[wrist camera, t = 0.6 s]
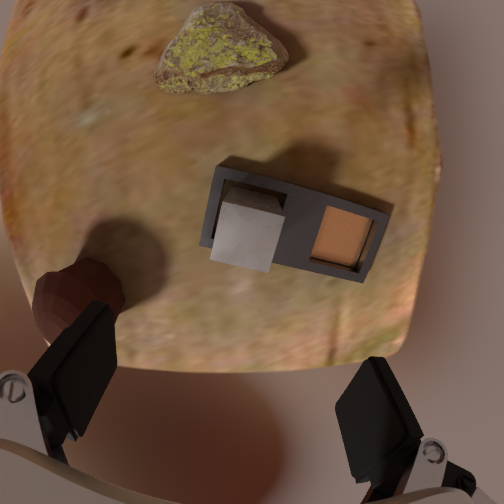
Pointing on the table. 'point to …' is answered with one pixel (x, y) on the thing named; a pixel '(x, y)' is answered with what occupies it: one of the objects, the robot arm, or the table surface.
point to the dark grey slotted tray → (310, 227)
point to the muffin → (73, 295)
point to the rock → (218, 52)
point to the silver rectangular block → (248, 229)
